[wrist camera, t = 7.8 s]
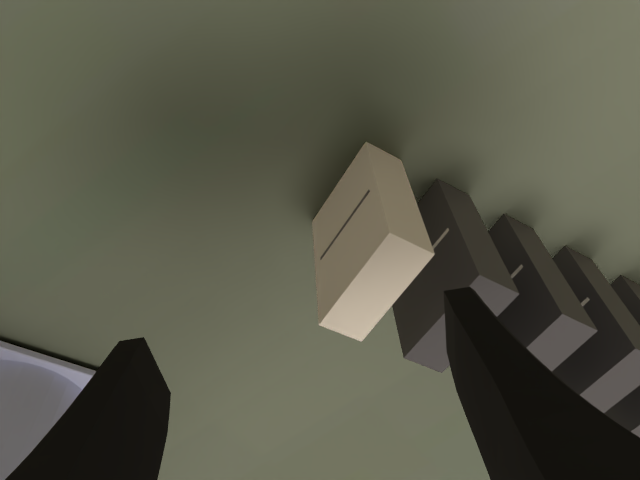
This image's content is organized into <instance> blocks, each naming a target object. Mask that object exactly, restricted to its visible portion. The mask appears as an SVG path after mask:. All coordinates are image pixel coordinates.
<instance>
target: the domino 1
mask: <svg viewBox="0 0 640 480" xmlns="http://www.w3.org/2000/svg"><path fill="white" fill-rule="evenodd" d="M312 226H313V242H314V257H315V273H316V288H317V304H318V319H319V325H320V326H323V327H325V328H328V329H330V330H333V331H336V332H338V333H341V334H343V335H346V336H348V337H351V338H353V339H356V340H358V341H361V342H362V340H363V339H364V338H365V337H366V336H367V334H368V333H369V332H370V331H371V330H372V329H373V327H374V326H375V325H376V324H377V323H378V321H379V320H380V319H381V318H382V317H383V315H384V314H385V313H386V312H387V311H388V310H389V308H390V307H391V306H392V305H393V304H394V302H395V301H396V300H397V299H398V298H399V296H400V295H401V294H402V293H403V292H404V290H405V289H406V288H407V287H408V286H409V285H410V283H411V282H412V281H413V280H414V279H415V277H416V276H417V275H418V274H419V273H420V271H421V270H422V269H423V268H424V267H425V266H426V264H427V263H428V262H429V261H430V260H431V258H432V257H433V256H434V255H435V253H434V250H433V247H432V245H431V242H430V239H429V236H428V233H427V231H426V228H425V225H424V222H423V219H422V217H421V214H420V211H419V208H418V205H417V203H416V200H415V197H414V194H413V191H412V189H411V186H410V183H409V180H408V177H407V175H406V172H405V169H404V166H403V163H402V161H401V160H400V159H398V158H396V157H394V156H393V155H391V154H389V153H387V152H385V151H383V150H381V149H379V148H377V147H376V146H374V145H372V144H370V143H368V142H365V143H364V145H363V146H362V148H361V149H360V151H359V152H358V154H357V155H356V157H355V158H354V160H353V161H352V163H351V164H350V166H349V167H348V169H347V170H346V172H345V173H344V175H343V176H342V178H341V179H340V181H339V182H338V184H337V185H336V187H335V188H334V190H333V191H332V193H331V194H330V196H329V197H328V199H327V200H326V201H325V203H324V204H323V206H322V207H321V209H320V210H319V212H318V213H317V215H316V216H315V218H314V219H313V221H312Z"/></svg>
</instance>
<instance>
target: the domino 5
mask: <svg viewBox="0 0 640 480" xmlns="http://www.w3.org/2000/svg"><path fill="white" fill-rule="evenodd" d="M611 287H612V288H613V290H614V291H615V292H616V294H617V295H618V296H619V298H620V299H621V301H622V302H623V303H624V305H625V306H626V307H627V309H628V310H629V312H630V313H631V314H632V316H633V317H634V318H635V320H636V321H637V323H638V324H639V325H640V285H639V284H637V283H635V282H633V281H631V280H629V279H627V278H625V277H623V276H622V275H620V276H619V277H618V278H617V279H616V280H615V281H614V282H613V283H612V284H611ZM604 414H606V415H607V416H608V417H610V418H611V419H613V420H614V421H615V422H617V423H618V424H620V425H621V426H623V427H624V428H626V429H627V430H629V431H631V432H632V433H634V434H635V435H637V436H638V437H640V385H639V386H638V387H637V388H635V389H634V390H633V391H632V392H630V393H629V394H628V395H627V396H625V397H624V398H623V399H621V400H620V401H619V402H618V403H616V404H615V405H614V406H613V407H611V408H610V409H609V410H607V411H606V412H605V413H604Z"/></svg>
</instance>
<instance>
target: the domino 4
mask: <svg viewBox="0 0 640 480" xmlns="http://www.w3.org/2000/svg"><path fill="white" fill-rule="evenodd" d="M553 261H554V262H555V264H556V265H557V267H558V269H559V270H560V272H561V273H562V275H563V276H564V278H565V280H566V281H567V283H568V284H569V286H570V287H571V289H572V291H573V292H574V294H575V295H576V297H577V298H578V300H579V302H580V303H581V305H582V306H583V308H584V310H585V311H586V313H587V314H588V316H589V317H590V319H591V321H592V322H593V324H594V325H595V327H596V328H597V330H598V331H597V332H596V333H595V334H594V335H593V336H591V337H590V338H589V339H588V340H587V341H586V342H585V343H584V344H582V345H581V346H580V347H579V348H578V349H577V350H576V351H574V352H573V353H572V354H571V355H570V356H569V357H568V358H567V359H565V360H564V361H563V362H562V363H561V364H560V365H559V366H558V367H556V368H555V369H554V370H553V371H552V372H553V373H554V374H555V375H556V376H557V377H558V378H560V379H561V380H562V381H563V382H564V383H565V384H567V385H568V386H569V387H570V388H572V389H573V390H574V391H575V392H576V393H578V394H579V395H580V396H582V397H583V398H584V399H585V400H587V401H588V402H589V403H591V404H592V405H593V406H595V407H596V408H597V409H599V410H600V411H601V412H603V413H605V412H606V411H607V410H609V409H610V408H611V407H613V406H614V405H615V404H616V403H618V402H619V401H620V400H621V399H623V398H624V397H625V396H627V395H628V394H629V393H630V392H632V391H633V390H634V389H635V388H637V387H638V386H639V385H640V325H639V324H638V323H637V321H636V320H635V318H634V317H633V316H632V314H631V313H630V312H629V310H628V309H627V307H626V306H625V305H624V303H623V302H622V301H621V299H620V298H619V296H618V295H617V294H616V292H615V291H614V290H613V288H612V287H611V285H610V284H609V283H608V281H607V280H606V279H605V277H604V276H603V274H602V273H601V272H600V270H599V269H598V268H597V266H596V265H595V263H594V262H593V261H592V260H591V259H589V258H587V257H585V256H584V255H582V254H580V253H578V252H576V251H574V250H572V249H570V248H568V247H566V246H564V247H563V248H562V249H561V250H560V251H559V252H558V254H557V255H556V256H555V257H554V258H553Z"/></svg>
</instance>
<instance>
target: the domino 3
mask: <svg viewBox="0 0 640 480" xmlns="http://www.w3.org/2000/svg"><path fill="white" fill-rule="evenodd" d="M488 233H489V235H490V237H491V239H492V241H493V243H494V245H495V247H496V249H497V250H498V252H499V254H500V256H501V258H502V260H503V262H504V264H505V266H506V268H507V270H508V272H509V274H510V276H511V278H512V280H513V282H514V284H515V286H516V288H517V290H518V292H519V295H518V296H517V297H516V298H515V299H514V300H513V301H512V302H511V303H510V304H509V305H508V306H507V307H506V308H505V309H504V310H503V311H502V312H501V313H500V314H499V315H498V316H497V318H498V319H499V320H500V321H501V322H502V323H503V324H504V325H505V327H506V328H507V329H508V330H509V331H510V332H511V333H512V334H513V335H514V336H515V337H516V338H517V339H518V340H519V341H520V342H521V343H522V344H523V345H524V346H525V347H526V348H527V349H528V350H529V351H530V352H531V353H532V354H533V355H534V356H535V357H536V358H537V359H538V360H539V361H541V362H542V363H543V364H544V365H545V366H546V367H547V368H548V369H549V370H551V371H553V370H554V369H555V368H556V367H558V366H559V365H560V364H561V363H562V362H563V361H564V360H565V359H567V358H568V357H569V356H570V355H571V354H572V353H573V352H574V351H576V350H577V349H578V348H579V347H580V346H581V345H582V344H584V343H585V342H586V341H587V340H588V339H589V338H590V337H591V336H593V335H594V334H595V333H596V332H597V331H598V330H597V328H596V327H595V325H594V324H593V322H592V321H591V319H590V317H589V316H588V314H587V313H586V311H585V310H584V308H583V306H582V305H581V303H580V302H579V300H578V298H577V297H576V295H575V294H574V292H573V291H572V289H571V287H570V286H569V284H568V283H567V281H566V280H565V278H564V276H563V275H562V273H561V272H560V270H559V269H558V267H557V265H556V264H555V262H554V261H553V259H552V258H551V256H550V254H549V253H548V251H547V250H546V248H545V247H544V245H543V243H542V242H541V240H540V239H539V237H538V235H537V234H536V232H535V231H534V229H532V228H530V227H528V226H527V225H525V224H523V223H521V222H519V221H517V220H515V219H513V218H511V217H509V216H508V215H506V214H503V216H502V217H501V218H500V219H499V220H498V221H497V222H496V224H495V225H494V226H493V227H492V228H491V229H490V230H489V232H488Z"/></svg>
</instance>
